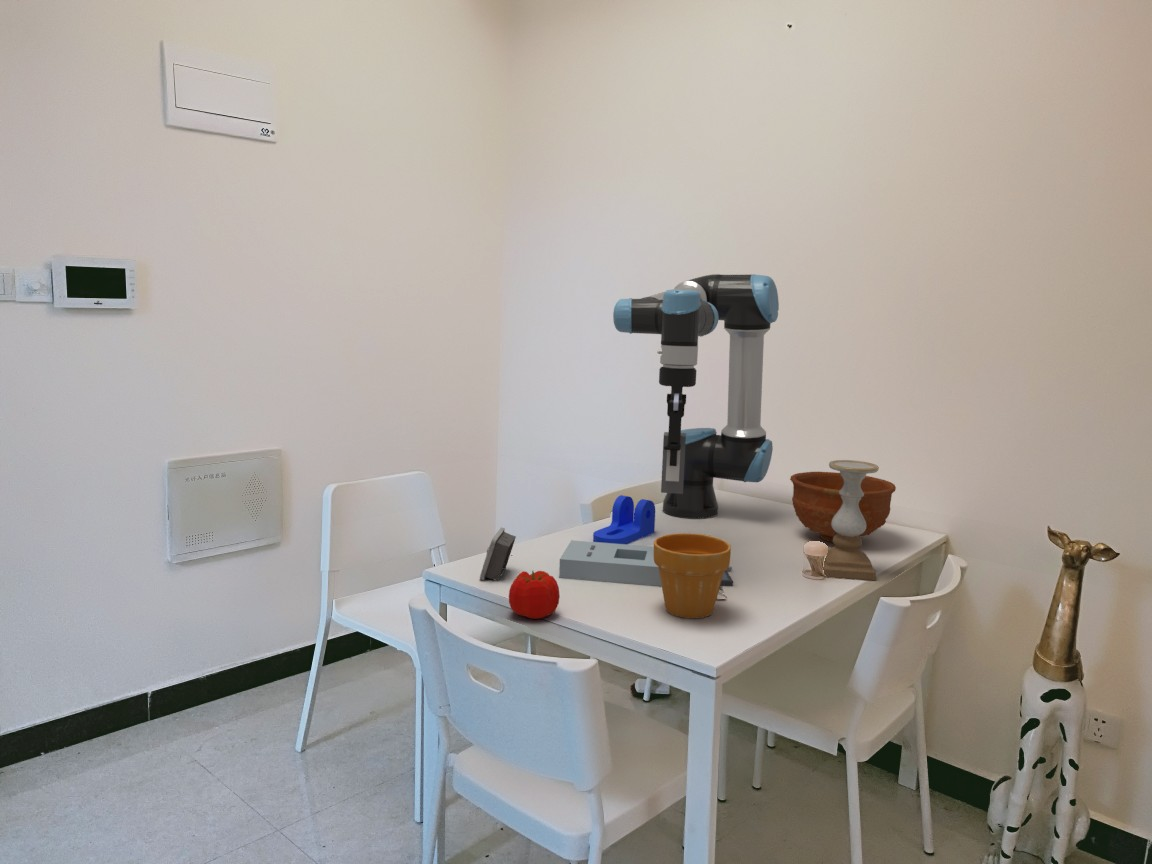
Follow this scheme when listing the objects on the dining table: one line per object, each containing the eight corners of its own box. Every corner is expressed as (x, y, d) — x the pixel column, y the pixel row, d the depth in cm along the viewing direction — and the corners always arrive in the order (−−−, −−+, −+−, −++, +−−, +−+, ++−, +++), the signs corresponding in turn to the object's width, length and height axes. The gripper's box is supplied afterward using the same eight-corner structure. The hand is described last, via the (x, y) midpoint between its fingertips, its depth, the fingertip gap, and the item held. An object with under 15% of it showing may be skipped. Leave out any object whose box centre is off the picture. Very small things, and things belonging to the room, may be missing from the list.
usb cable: (663, 562, 184) (663, 558, 184) (664, 561, 185) (664, 557, 185) (731, 571, 179) (731, 567, 179) (731, 570, 180) (732, 566, 180)
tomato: (544, 602, 157) (545, 564, 156) (566, 618, 150) (567, 579, 149) (499, 610, 153) (499, 571, 152) (519, 627, 145) (520, 586, 144)
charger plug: (661, 487, 176) (664, 431, 174) (683, 489, 175) (686, 432, 173) (660, 492, 171) (663, 434, 169) (682, 493, 171) (685, 435, 169)
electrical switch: (488, 566, 178) (493, 525, 176) (512, 570, 177) (517, 529, 175) (478, 581, 168) (483, 537, 167) (503, 585, 168) (508, 541, 166)
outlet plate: (570, 557, 185) (571, 539, 185) (669, 565, 182) (670, 546, 181) (559, 577, 172) (559, 558, 171) (665, 586, 168) (666, 566, 168)
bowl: (782, 546, 199) (786, 485, 197) (790, 521, 222) (794, 466, 220) (892, 559, 191) (897, 496, 189) (888, 532, 215) (893, 475, 212)
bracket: (626, 527, 212) (627, 493, 211) (654, 533, 208) (655, 498, 206) (586, 542, 198) (587, 506, 196) (615, 549, 193) (617, 512, 192)
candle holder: (822, 577, 177) (831, 467, 173) (815, 561, 188) (823, 458, 184) (876, 581, 176) (886, 470, 172) (865, 565, 186) (874, 460, 183)
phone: (660, 573, 176) (661, 568, 176) (726, 574, 177) (726, 569, 177) (664, 584, 170) (664, 579, 169) (732, 586, 170) (733, 580, 170)
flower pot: (635, 608, 156) (638, 541, 154) (682, 591, 166) (685, 528, 164) (695, 631, 146) (699, 560, 144) (741, 611, 156) (746, 545, 154)
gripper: (661, 362, 178) (656, 469, 182) (658, 368, 161) (652, 486, 165) (696, 364, 177) (690, 471, 181) (696, 370, 160) (690, 488, 164)
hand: (672, 478), depth 173 cm, fingers closed on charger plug, 4 cm apart
